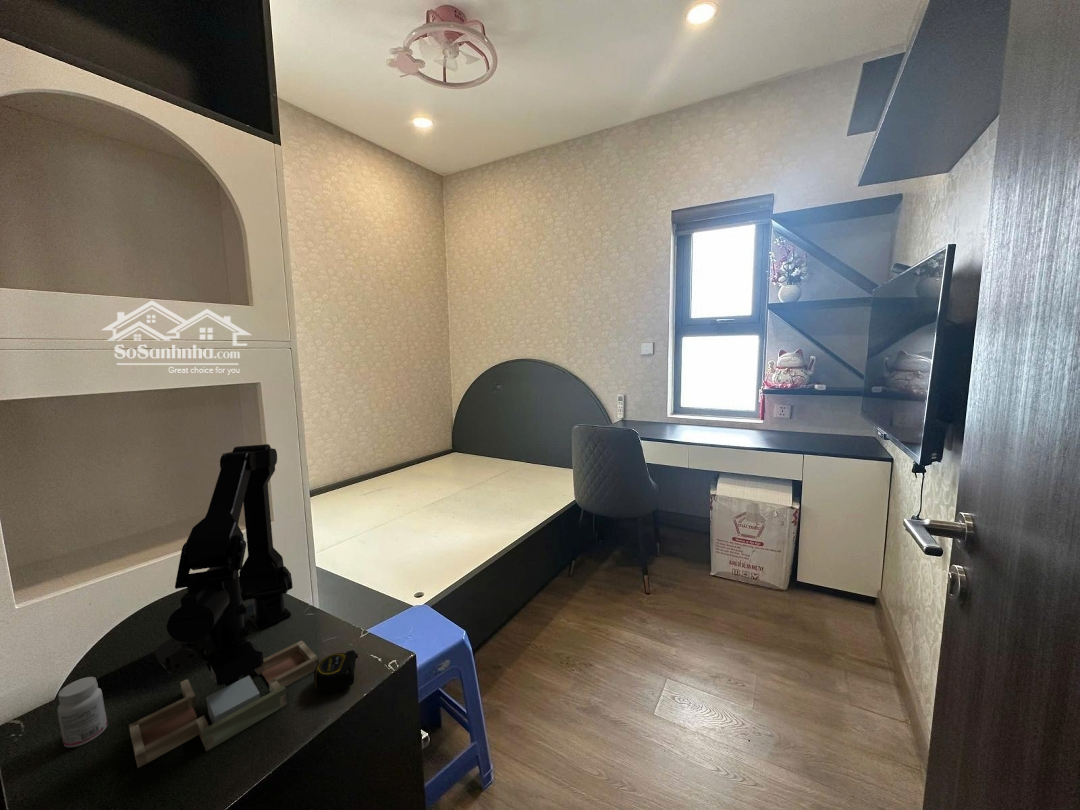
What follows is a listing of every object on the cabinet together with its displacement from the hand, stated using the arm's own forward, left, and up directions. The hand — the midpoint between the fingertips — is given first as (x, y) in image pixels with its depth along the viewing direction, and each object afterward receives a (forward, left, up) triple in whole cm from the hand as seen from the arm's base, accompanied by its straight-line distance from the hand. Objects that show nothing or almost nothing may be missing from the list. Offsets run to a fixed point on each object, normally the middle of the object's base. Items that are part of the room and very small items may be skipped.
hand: (230, 688), depth 73 cm
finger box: (+1, 0, -2) cm, 2 cm away
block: (+4, 0, -2) cm, 5 cm away
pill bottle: (-9, -17, -2) cm, 19 cm away
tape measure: (+11, +14, -2) cm, 18 cm away
